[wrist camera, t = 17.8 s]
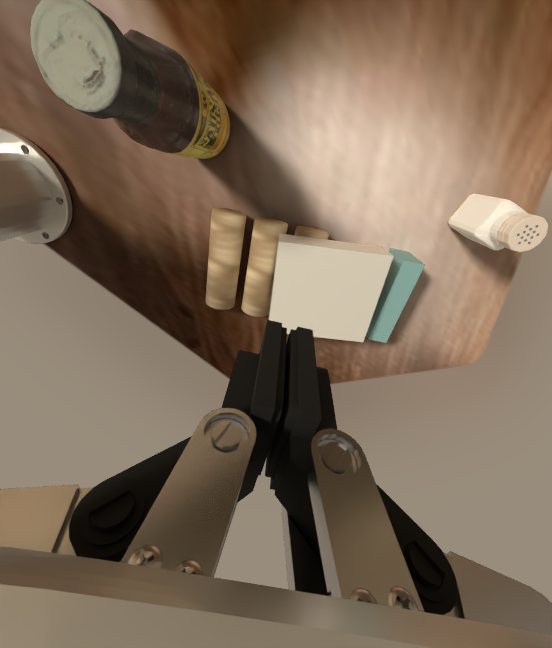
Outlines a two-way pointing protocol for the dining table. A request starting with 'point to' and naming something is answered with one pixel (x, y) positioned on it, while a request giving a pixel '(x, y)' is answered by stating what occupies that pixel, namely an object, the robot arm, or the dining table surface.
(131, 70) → the sauce bottle
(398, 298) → the block
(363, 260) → the slab
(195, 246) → the dining table surface
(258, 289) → the roller track
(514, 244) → the pepper shaker
